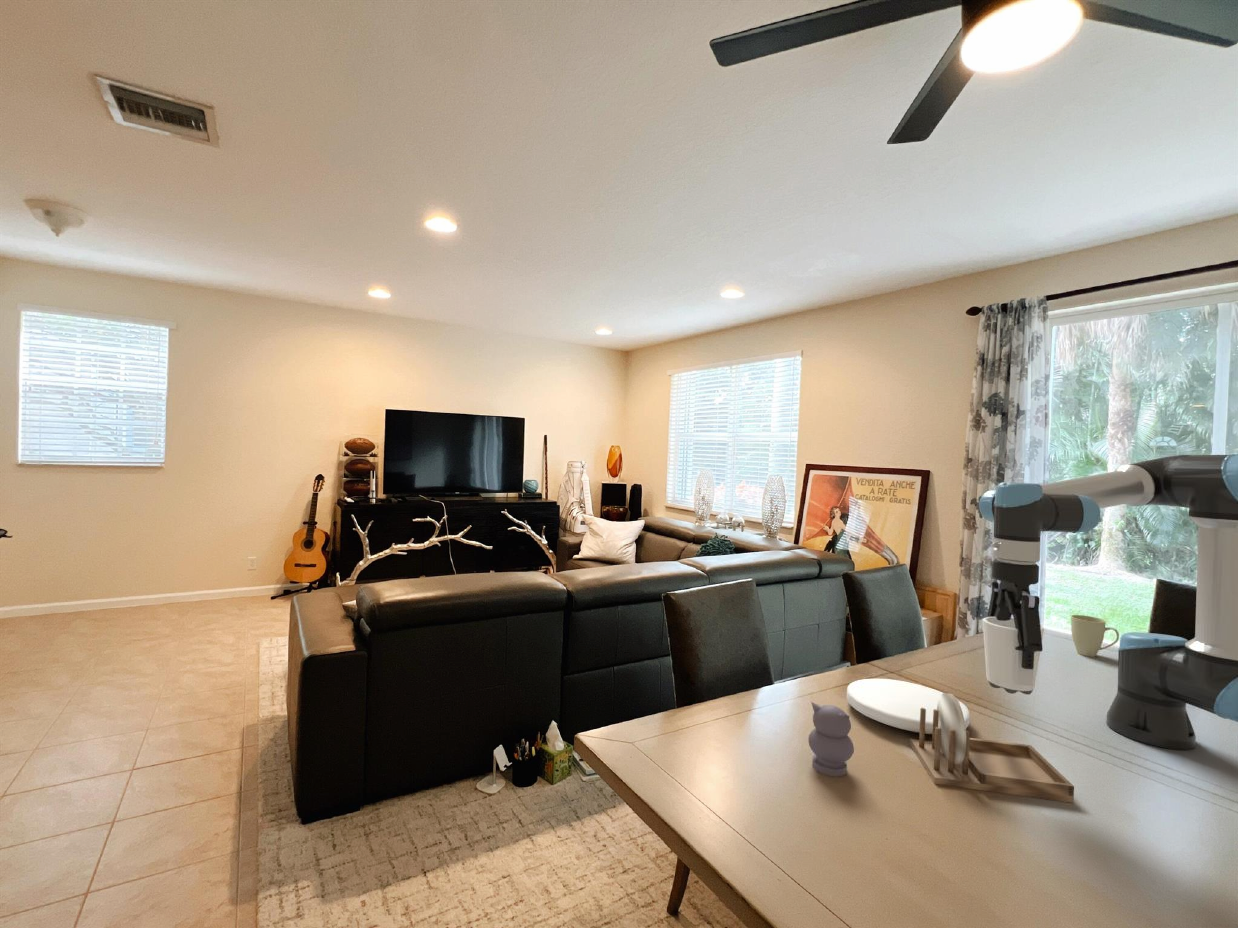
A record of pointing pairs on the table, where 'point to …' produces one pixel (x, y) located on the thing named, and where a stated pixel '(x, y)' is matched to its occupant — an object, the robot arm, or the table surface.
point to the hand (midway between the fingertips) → (1010, 674)
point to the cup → (1004, 655)
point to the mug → (1089, 634)
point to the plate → (897, 703)
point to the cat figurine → (830, 740)
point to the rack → (984, 759)
